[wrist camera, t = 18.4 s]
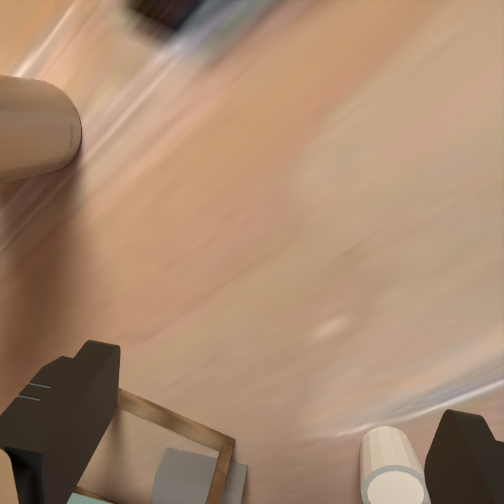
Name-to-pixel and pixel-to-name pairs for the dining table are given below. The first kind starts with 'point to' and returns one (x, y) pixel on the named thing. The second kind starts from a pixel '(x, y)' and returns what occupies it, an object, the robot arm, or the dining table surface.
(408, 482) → the white cup
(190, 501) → the granite block
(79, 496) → the trapdoor
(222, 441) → the frame
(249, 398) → the dining table surface
